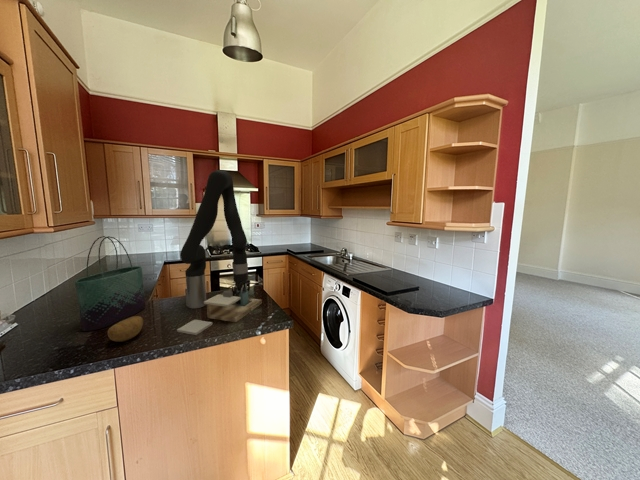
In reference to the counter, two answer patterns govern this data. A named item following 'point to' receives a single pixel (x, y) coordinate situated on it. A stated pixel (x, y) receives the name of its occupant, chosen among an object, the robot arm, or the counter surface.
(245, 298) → the block
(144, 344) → the counter surface
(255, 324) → the counter surface
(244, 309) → the puzzle board
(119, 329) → the potato
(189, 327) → the mat
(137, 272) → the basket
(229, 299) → the cover
